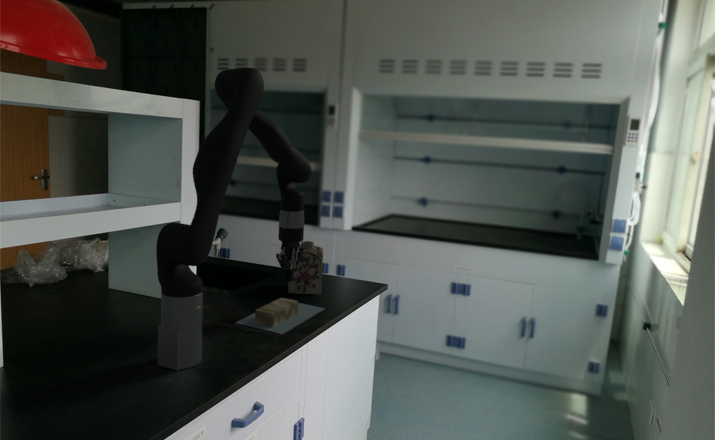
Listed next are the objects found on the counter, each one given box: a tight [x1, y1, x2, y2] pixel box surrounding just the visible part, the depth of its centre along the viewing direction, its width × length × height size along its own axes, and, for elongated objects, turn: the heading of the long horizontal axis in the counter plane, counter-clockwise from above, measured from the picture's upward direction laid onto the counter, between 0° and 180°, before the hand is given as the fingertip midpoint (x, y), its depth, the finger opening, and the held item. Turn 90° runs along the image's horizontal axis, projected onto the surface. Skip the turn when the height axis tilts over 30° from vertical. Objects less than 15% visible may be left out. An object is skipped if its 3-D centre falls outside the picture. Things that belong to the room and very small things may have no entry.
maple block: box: [254, 297, 299, 327], centre depth 155 cm, size 4×6×14 cm
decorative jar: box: [287, 240, 324, 295], centre depth 185 cm, size 12×12×18 cm
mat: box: [234, 302, 326, 337], centre depth 158 cm, size 26×16×1 cm, turn 157°
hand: (289, 280), depth 159 cm, fingers closed
